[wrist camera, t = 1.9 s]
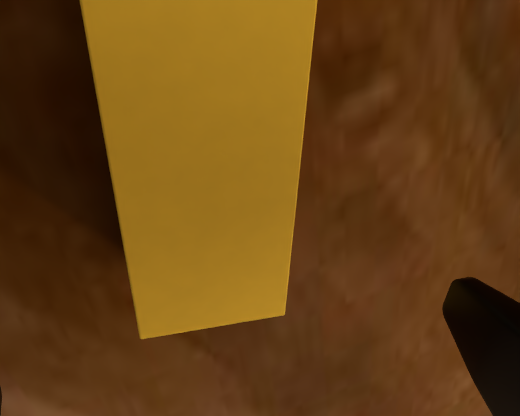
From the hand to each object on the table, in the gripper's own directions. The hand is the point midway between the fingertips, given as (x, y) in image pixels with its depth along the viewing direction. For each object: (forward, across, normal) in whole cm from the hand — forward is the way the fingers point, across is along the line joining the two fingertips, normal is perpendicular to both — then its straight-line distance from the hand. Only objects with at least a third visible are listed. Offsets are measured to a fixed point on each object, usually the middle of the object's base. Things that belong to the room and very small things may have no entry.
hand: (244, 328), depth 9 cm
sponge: (+9, 0, 0) cm, 9 cm away
